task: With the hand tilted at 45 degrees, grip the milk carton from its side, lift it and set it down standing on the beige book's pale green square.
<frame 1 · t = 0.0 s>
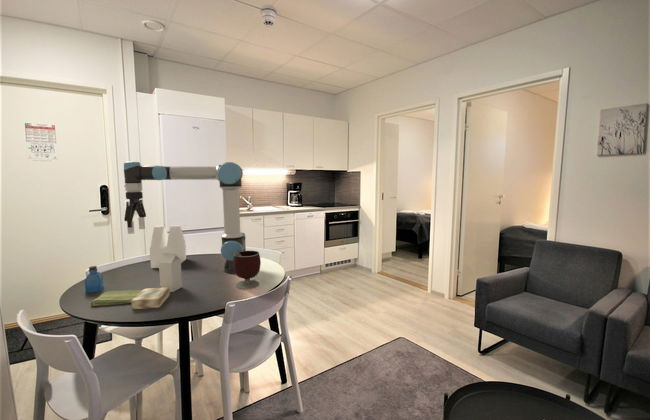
hand: (136, 231, 163), 28 cm above the table, tool pointing down, fingers open, 13 cm apart
washcloth: (118, 301, 142), on the table
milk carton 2: (169, 263, 201), on the table
perfume bottle: (94, 290, 154), on the table
beige book: (151, 301, 140), on the table
dark red goblet: (246, 285, 161), on the table
milk carton: (171, 289, 155), on the table
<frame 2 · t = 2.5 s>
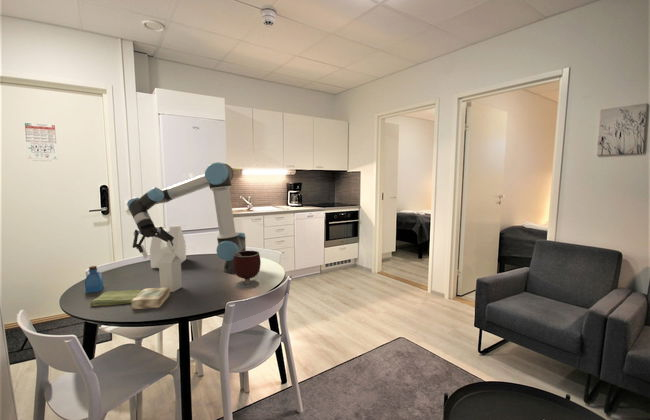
hand: (160, 254, 157), 17 cm above the table, tool tilted 45°, fingers open, 13 cm apart
nothing on the table moved.
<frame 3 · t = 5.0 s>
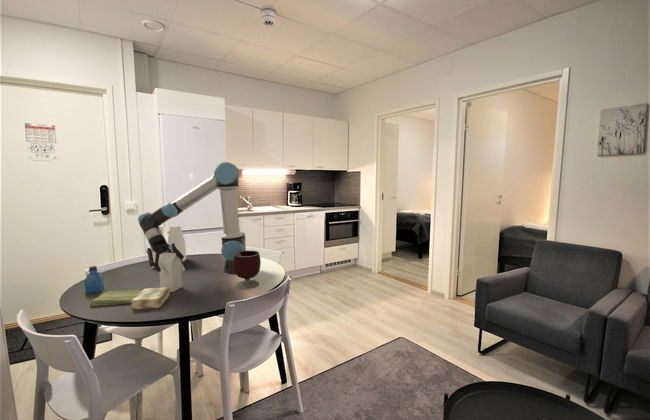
hand: (173, 273, 152), 9 cm above the table, tool tilted 45°, fingers closed on milk carton, 9 cm apart
milk carton: (171, 289, 155), on the table, touching gripper
everything else where it was.
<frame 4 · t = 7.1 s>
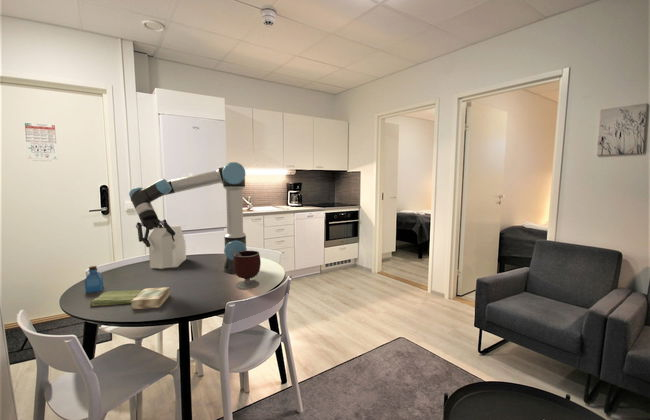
hand: (164, 249, 146), 22 cm above the table, tool tilted 45°, fingers closed on milk carton, 9 cm apart
milk carton: (161, 266, 149), point 13 cm above the table, touching gripper
everything else where it was.
when the fingers open (14 cm above the table, at t = 9.6 s): milk carton drops 1 cm, resting on beige book.
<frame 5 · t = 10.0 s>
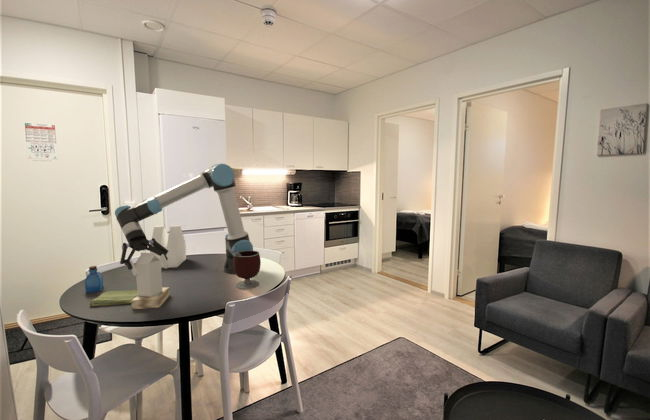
hand: (152, 270, 137), 15 cm above the table, tool tilted 45°, fingers open, 13 cm apart
milk carton: (150, 294, 139), point 4 cm above the table, touching beige book
everything else where it was.
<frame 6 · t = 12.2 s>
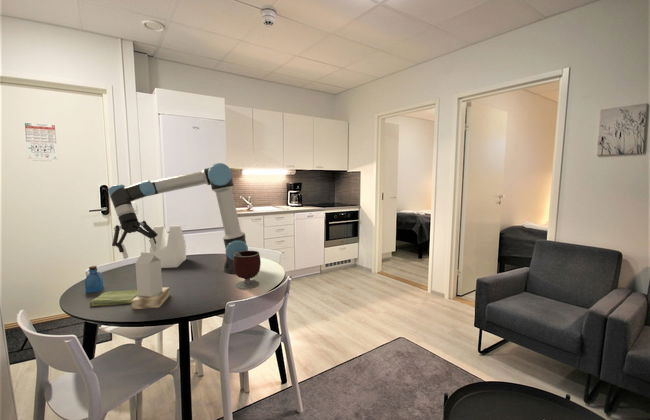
hand: (141, 254, 149), 19 cm above the table, tool tilted 25°, fingers open, 13 cm apart
nothing on the table moved.
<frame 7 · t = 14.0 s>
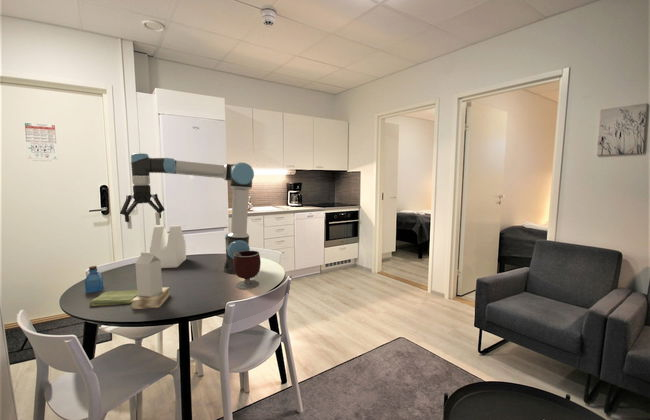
hand: (144, 226, 155), 32 cm above the table, tool pointing down, fingers open, 13 cm apart
nothing on the table moved.
at the end: milk carton inside the target area on the beige book (0.4 cm from its centre), point 3.8 cm above the beige book's base; milk carton tilted 0° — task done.
